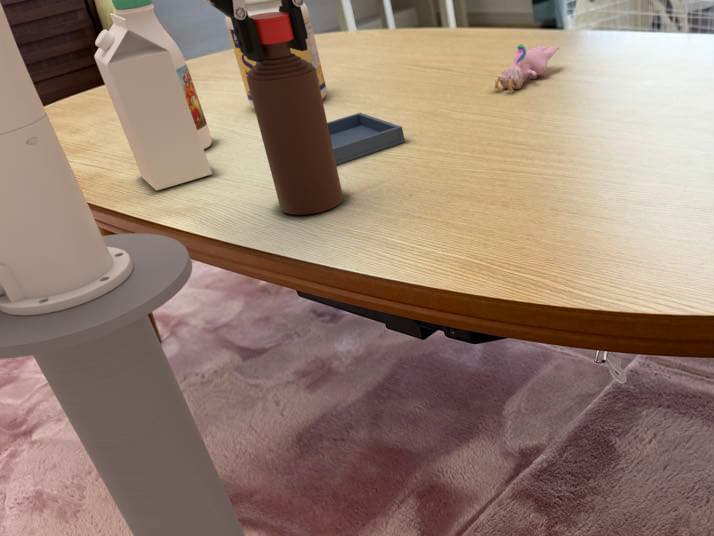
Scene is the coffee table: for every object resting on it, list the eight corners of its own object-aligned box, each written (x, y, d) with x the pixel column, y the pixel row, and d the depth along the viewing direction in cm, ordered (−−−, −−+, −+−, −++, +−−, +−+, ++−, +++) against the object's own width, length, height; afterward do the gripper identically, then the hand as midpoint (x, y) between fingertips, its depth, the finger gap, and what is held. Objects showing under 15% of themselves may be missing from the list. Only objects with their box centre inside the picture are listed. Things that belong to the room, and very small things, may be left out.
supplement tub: (242, 118, 123) (204, -4, 113) (262, 95, 133) (229, -18, 123) (320, 110, 122) (289, -13, 112) (335, 88, 132) (308, -27, 122)
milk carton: (196, 163, 107) (141, 7, 96) (213, 175, 102) (156, 13, 91) (142, 178, 104) (78, 19, 93) (156, 192, 99) (91, 26, 88)
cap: (284, 43, 79) (278, 18, 78) (246, 45, 80) (239, 20, 78) (300, 35, 82) (294, 10, 81) (263, 37, 83) (257, 12, 82)
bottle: (299, 219, 87) (253, 34, 76) (269, 205, 91) (221, 27, 81) (355, 200, 90) (318, 21, 80) (323, 187, 95) (285, 15, 84)
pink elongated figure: (522, 103, 120) (573, 59, 128) (514, 63, 115) (566, 20, 124) (489, 100, 123) (540, 57, 131) (479, 61, 118) (533, 19, 127)
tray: (315, 172, 100) (310, 156, 98) (277, 154, 107) (272, 139, 106) (405, 141, 106) (402, 126, 105) (363, 126, 113) (360, 112, 112)
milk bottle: (169, 162, 108) (108, -1, 97) (148, 152, 113) (87, -5, 102) (222, 145, 112) (170, -13, 101) (200, 136, 117) (147, -16, 105)
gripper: (136, -156, 65) (213, 80, 76) (321, -177, 73) (366, 40, 84) (109, -152, 70) (185, 70, 80) (285, -171, 78) (332, 33, 88)
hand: (277, 52), depth 82 cm, fingers closed on cap, 4 cm apart
